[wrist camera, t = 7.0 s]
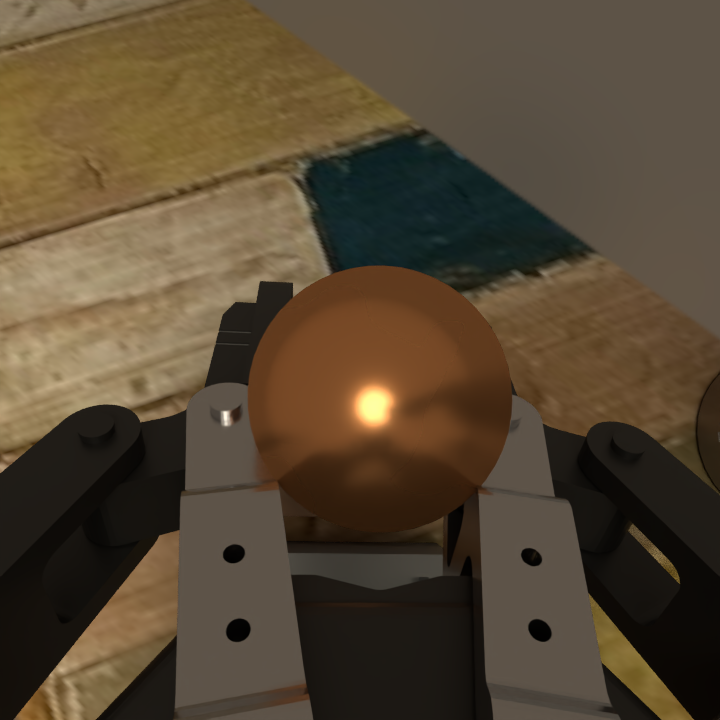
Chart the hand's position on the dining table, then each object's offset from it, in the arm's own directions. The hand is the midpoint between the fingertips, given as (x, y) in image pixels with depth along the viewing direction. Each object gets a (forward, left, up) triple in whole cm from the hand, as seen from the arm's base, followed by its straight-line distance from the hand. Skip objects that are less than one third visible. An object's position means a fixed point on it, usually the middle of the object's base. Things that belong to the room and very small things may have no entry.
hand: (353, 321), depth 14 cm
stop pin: (0, +2, -4) cm, 4 cm away
